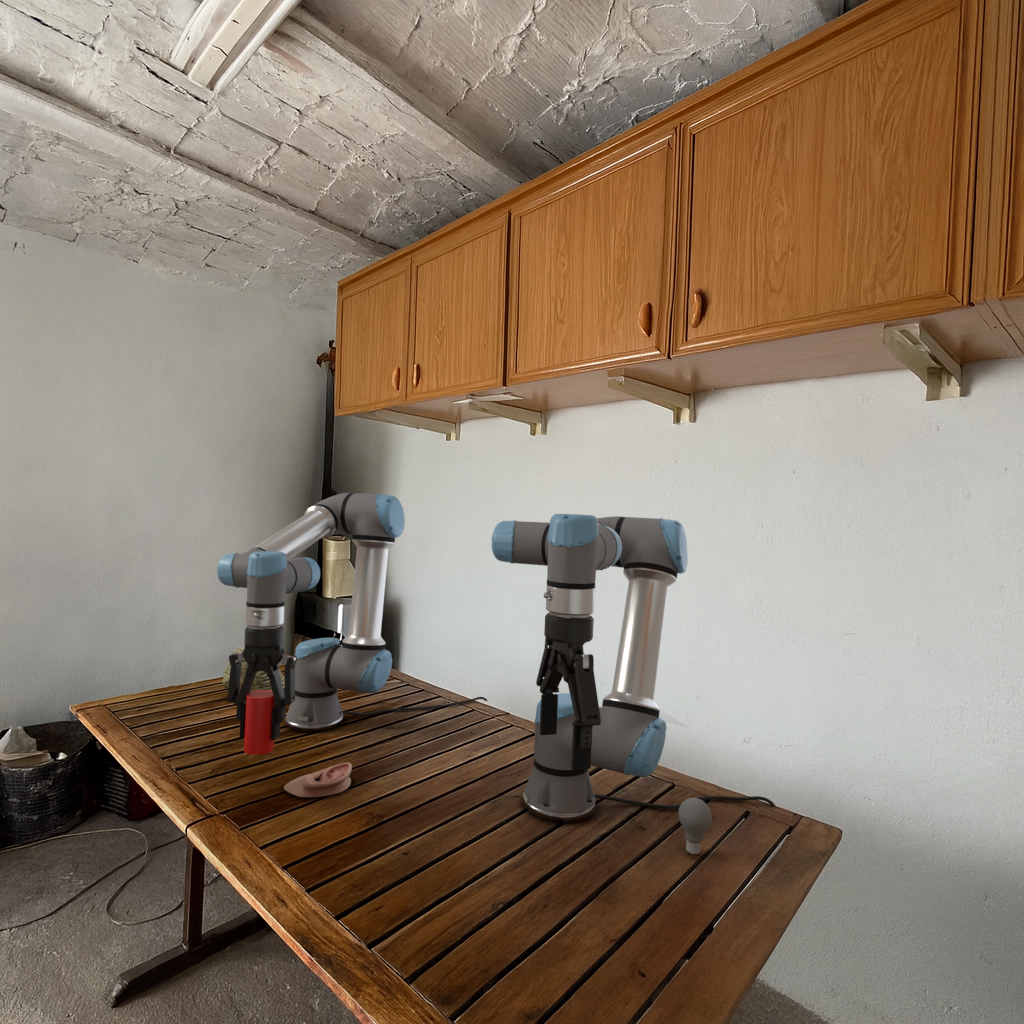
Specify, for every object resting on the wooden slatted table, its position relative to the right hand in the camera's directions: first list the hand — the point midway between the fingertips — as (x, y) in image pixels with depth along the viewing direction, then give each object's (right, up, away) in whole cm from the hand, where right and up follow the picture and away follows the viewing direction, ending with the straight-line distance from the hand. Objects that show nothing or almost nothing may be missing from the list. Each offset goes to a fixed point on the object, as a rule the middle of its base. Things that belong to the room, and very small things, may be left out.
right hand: (563, 750), depth 98 cm
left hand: (-61, -10, +34) cm, 70 cm away
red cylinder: (-61, -13, +34) cm, 71 cm away
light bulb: (+26, -27, +20) cm, 42 cm away
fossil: (-89, -20, +100) cm, 135 cm away
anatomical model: (-50, -23, +40) cm, 68 cm away
